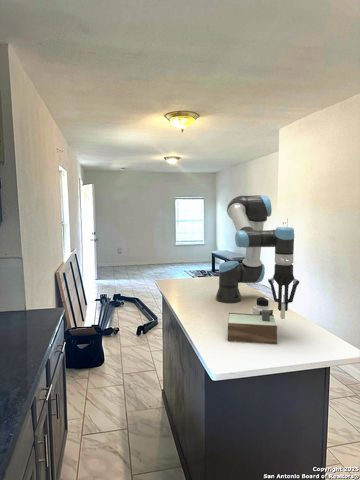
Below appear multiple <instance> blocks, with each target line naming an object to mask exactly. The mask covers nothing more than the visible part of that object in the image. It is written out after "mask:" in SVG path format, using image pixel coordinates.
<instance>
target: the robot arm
mask: <svg viewBox="0 0 360 480" xmlns="http://www.w3.org/2000/svg"><path fill="white" fill-rule="evenodd" d="M229 201H230V202H229V203H228V204H227V207H226V212H227V216H228V217H229V218H230V219H231V220H232V222H233V224H234V225H233V226H234V228H235V230H236V232H235V235H234V242H235V246H236V247H238V248H245V255H244V256H245V258H244V259H243V260H241V261H242V263H239V261H237V260H228V261H224V262H221V263H220V264H219V267H218V289H217V293H216V294H215V295H216V296H215V300H216V301H217V302H220V303H225V304H226V303H227V304H228V303H229V304H235V303H239V302H241V301H242V294H241V292H240V289H239V284H240V283H241V284H246V283H247V284H248V283H250V284H251V283H252V284H256V283H261V282H262V281H263V280H264V277H265V274H266V273H265V265H264V263H263V261H262V260H261V253H262V248H274V263H275V264H274V272H273V276H272V277H271V278H268V279H267V281H268V283H269V285H270V289H271V294H272V297H273V298H272V299H273V301H274V302H275V303H277V310H278V311H279V312H280V316H279V317H280V319H281V320H285V319H286V312H288V309H289V304H290V303H293V302H294V298H295V295H296V294H295V293H296V291H297V287H298V285H300V280H299V279H297V278H295V276H294V265H293V263H294V254H295V253H294V249H295V248H294V247H295V246H294V245H295V228H293V227H291V226H290V227H289V226H277V227H276V228H275V229H271V230H268V229H267V230H264V223H265V222H267V220H268V218H269V217H271V216H272V209H273V208H272V204H271V203H272V202H271V199H270V197H269V196H267V195H260V194H259V195H238V196H236V197H234V198H232V199H231V200H229ZM275 282H276V284H277V286H278V287H277V288H278V291H277V293H276V289H275ZM291 283H292V286H291V290H290V294H289V287H290V285H291ZM283 286H284V296H283ZM283 297H284V299H282V298H283ZM282 301H283V302H282Z"/></svg>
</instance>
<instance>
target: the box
mask: <svg viewBox="0 0 360 480" xmlns="http://www.w3.org/2000/svg"><path fill="white" fill-rule="evenodd" d="M229 314H242V315H260V314H253V313H241V312H240V313H239V312H238V313H236V312H229V313H228V315H229ZM261 316H262V315H261ZM270 316H274V314H273V315H270ZM274 317H275V316H274ZM227 342H237V343H239V342H241V343H252V344H254V343H255V344H269V345H277V344H278V325H276V326H273V325H256V324H238V323H229V320H228V321H227Z"/></svg>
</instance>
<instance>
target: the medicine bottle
mask: <svg viewBox="0 0 360 480" xmlns="http://www.w3.org/2000/svg"><path fill="white" fill-rule="evenodd" d="M262 310H269V311H270V315H274V309H273V308H271V307H270V299H269V298H268V297H265V296H260V297H257V298H256V306H255V305H254V306H252V314H260V315H262Z"/></svg>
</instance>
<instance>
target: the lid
mask: <svg viewBox="0 0 360 480" xmlns="http://www.w3.org/2000/svg"><path fill="white" fill-rule="evenodd" d="M242 314H243V313H241V314H229V313H228V321H229V323H238V324H256V325H273V326H277V322H276V320H275V316H270V311H269V310H262V316H261V315H242Z"/></svg>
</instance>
